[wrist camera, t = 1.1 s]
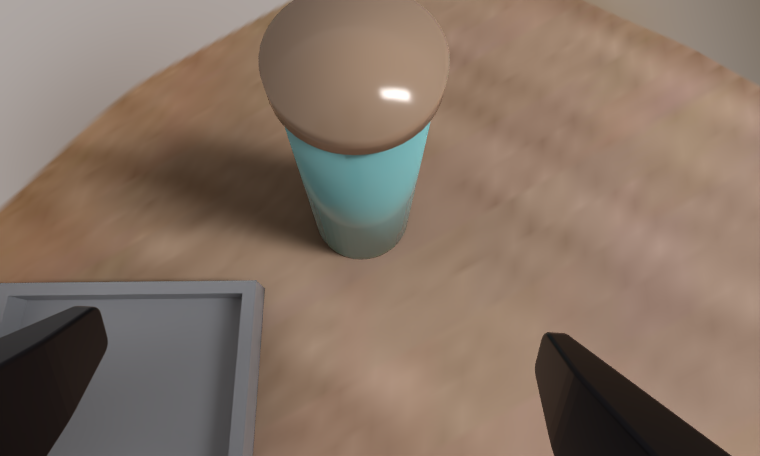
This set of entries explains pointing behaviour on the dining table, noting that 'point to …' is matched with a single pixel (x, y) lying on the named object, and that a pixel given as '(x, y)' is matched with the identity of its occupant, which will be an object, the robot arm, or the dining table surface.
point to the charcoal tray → (158, 364)
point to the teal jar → (356, 110)
